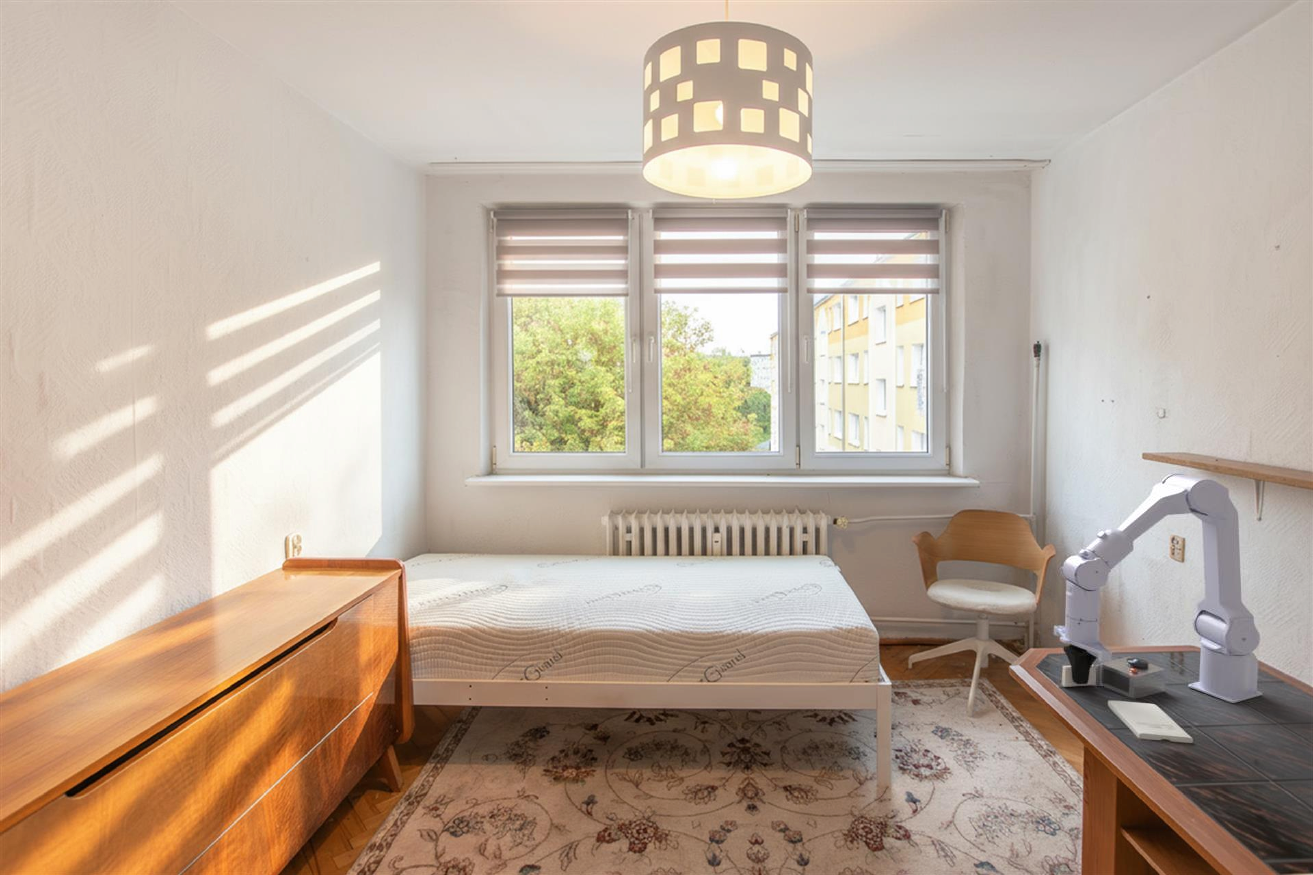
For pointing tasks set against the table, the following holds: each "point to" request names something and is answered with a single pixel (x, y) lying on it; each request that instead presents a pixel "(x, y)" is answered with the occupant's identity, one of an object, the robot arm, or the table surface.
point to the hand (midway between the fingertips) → (1080, 682)
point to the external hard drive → (1148, 721)
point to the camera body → (1132, 677)
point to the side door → (1068, 682)
